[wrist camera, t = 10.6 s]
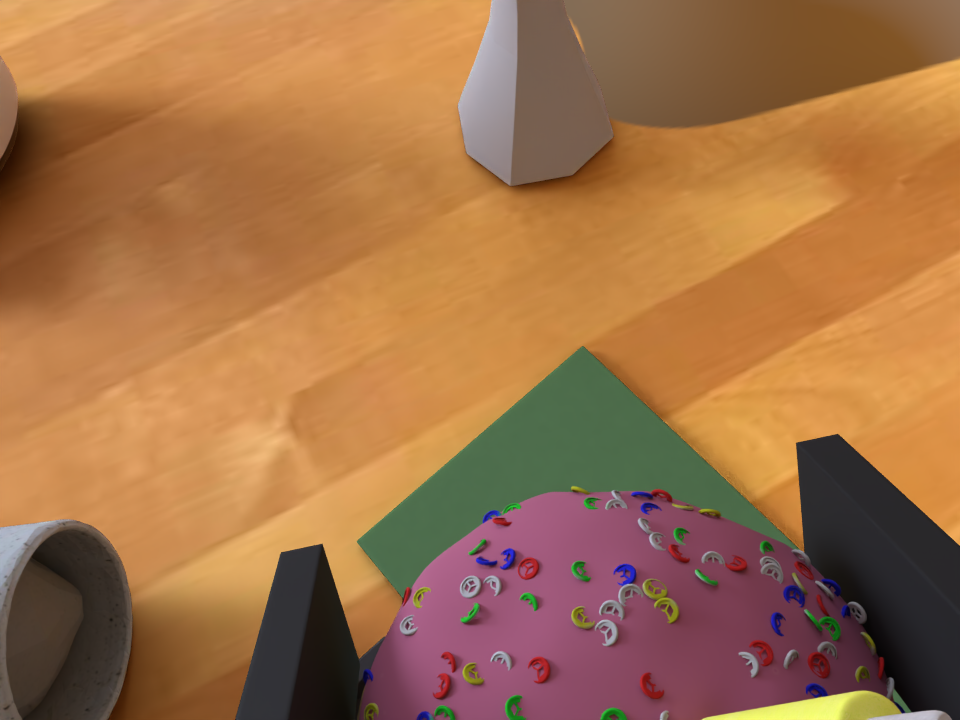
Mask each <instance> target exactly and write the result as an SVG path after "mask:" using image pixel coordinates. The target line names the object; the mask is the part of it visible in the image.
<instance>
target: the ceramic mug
mask: <svg viewBox="0 0 960 720" xmlns="http://www.w3.org/2000/svg"><path fill="white" fill-rule="evenodd" d="M132 619H133V617H132V601H131V593H130V590H129V586H128V581H127V577H126V572H125V569H124V566H123V564H122V561H121V559H120V557H119V555H118V553H117V552H116V550H115V549H114V547H113V546H112V544H111V543H110V541H109V540H108V539H107V538H106V537H105V536H104V535H103V534H102V533H101V532H100V531H98V530H97V529H96V528H94V527H92V526H91V525H88V524H84V523H82V522H80V521H75V520H65V519H63V520H55V521H48V522H41V523H34V524H25V525H17V526H8V527H1V528H0V720H108V719H109V717H110V715H111V712H112V710H113V708H114V706H115V704H116V702H117V700H118V698H119V695H120V692H121V689H122V686H123V682H124V679H125V675H126V672H127V666H128V661H129V655H130V650H131V639H132Z"/></svg>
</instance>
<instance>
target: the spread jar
mask: <svg viewBox="0 0 960 720" xmlns="http://www.w3.org/2000/svg"><path fill="white" fill-rule="evenodd" d="M18 122H19V102H18V94H17V87H16V84H15V81H14V79H13V76H12V74H11V72H10V70H9V68H8V67H7V65H6V64H5V62H4V61H3V59H2V58H1V56H0V171H1V169H2V168H3V166H4V165H5V163H6V161H7V159H8V157H9V155H10V153H11V151H12V148H13V146H14V143H15V139H16V135H17V130H18Z"/></svg>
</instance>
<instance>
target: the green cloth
mask: <svg viewBox="0 0 960 720" xmlns="http://www.w3.org/2000/svg"><path fill="white" fill-rule="evenodd" d="M572 486H576V487H580V488H582V489H584V490H586V491H588V492H612V491H613V490H616V491H618V492H619V491H649V492H652V491H653V490H654V489H661V490H664V491H666V492H668V493H669V494H670V495H671V496H672V498H673V499H676V500H679V501H682V502H685V503H688V504H691V505H693V506H696V507H699V508H701V509H713V510H717V511H719V512H720V513H721V517H724V518H726V519H728V520H731V521H733V522H735V523H738V524H740V525H743V526H745V527H747V528H749V529H752V530H754V531H756V532H759V533H761V534H763V535H765V536H768V537H770V538H772V539H775V540H777V541H779V542H782V543H784V544H786V545H787V546H789V547H790V548H792V549H793V550H794V549H797V550H800V549H799V548H798V547H797V546H796V545H794V544H793V543H792V542H791V541H790V540H789V539H788V538H787V537H786V536H785V535H784V534H783V533H782V532H781V531H780V530H778V529H777V528H776V527H775V526H774V525H773V524H772V523H771V522H770V521H769V520H768V519H767V518H766V517H765V516H764V515H763V514H761V513H760V512H759V511H758V510H757V509H756V508H755V507H754V506H753V505H752V504H751V503H750V502H749V501H748V500H747V499H745V498H744V497H743V496H742V495H741V494H740V493H739V492H738V491H737V490H736V489H735V488H734V487H733V486H732V485H731V484H730V483H728V482H727V481H726V480H725V479H724V478H723V477H722V476H721V475H720V474H719V473H718V472H717V471H716V470H715V469H714V468H712V467H711V466H710V465H709V464H708V463H707V462H706V461H705V460H704V459H703V458H702V457H701V456H700V455H699V454H698V453H696V452H695V451H694V450H693V449H692V448H691V447H690V446H689V445H688V444H687V443H686V442H685V441H684V440H683V439H682V438H681V437H679V436H678V435H677V434H676V433H675V432H674V431H673V430H672V429H671V428H670V427H669V426H668V425H667V424H666V423H665V422H663V421H662V420H661V419H660V418H659V417H658V416H657V415H656V414H655V413H654V412H653V411H652V410H651V409H650V408H649V407H648V406H646V405H645V404H644V403H643V402H642V401H641V400H640V399H639V398H638V397H637V396H636V395H635V394H634V393H633V392H632V391H630V390H629V389H628V388H627V387H626V386H625V385H624V384H623V383H622V382H621V381H620V380H619V379H618V378H617V377H616V376H615V375H613V374H612V373H611V372H610V371H609V370H608V369H607V368H606V367H605V366H604V365H603V364H602V363H601V362H600V361H599V360H597V359H596V358H595V357H594V356H593V355H592V354H591V353H590V352H589V351H588V350H587V349H586V348H585V347H584V346H582V347H581V348H580V349H578V350H577V351H576V352H575V353H574V354H573V355H571V356H570V357H569V358H568V359H567V360H566V361H564V362H563V363H562V364H561V365H560V366H559V367H558V368H556V369H555V370H554V371H553V372H552V373H551V374H549V375H548V376H547V377H546V378H545V379H544V380H543V381H541V382H540V383H539V384H538V385H537V386H536V387H534V388H533V389H532V390H531V391H530V392H529V393H527V394H526V395H525V396H524V397H523V398H522V399H521V400H519V401H518V402H517V403H516V404H515V405H514V406H512V407H511V408H510V409H509V410H508V411H507V412H506V413H504V414H503V415H502V416H501V417H500V418H499V419H497V420H496V421H495V422H494V423H493V424H492V425H490V426H489V427H488V428H487V429H486V430H485V431H484V432H482V433H481V434H480V435H479V436H478V437H477V438H475V439H474V440H473V441H472V442H471V443H470V444H469V445H467V446H466V447H465V448H464V449H463V450H462V451H460V452H459V453H458V454H457V455H456V456H455V457H453V458H452V459H451V460H450V461H449V462H448V463H447V464H445V465H444V466H443V467H442V468H441V469H440V470H438V471H437V472H436V473H435V474H434V475H433V476H431V477H430V478H429V479H428V480H427V481H426V482H425V483H423V484H422V485H421V486H420V487H419V488H418V489H416V490H415V491H414V492H413V493H412V494H411V495H410V496H408V497H407V498H406V499H405V500H404V501H403V502H401V503H400V504H399V505H398V506H397V507H396V508H394V509H393V510H392V511H391V512H390V513H389V514H388V515H386V516H385V517H384V518H383V519H382V520H381V521H379V522H378V523H377V524H376V525H375V526H374V527H373V528H371V529H370V530H369V531H368V532H367V533H366V534H364V535H363V536H362V537H361V538H360V539H359V540H357V543H358V544H359V545H360V546H361V548H362V549H363V550H364V551H365V552H366V554H367V555H368V556H369V557H370V559H371V560H372V561H373V562H374V564H375V565H376V566H377V567H378V568H379V570H380V571H381V572H382V573H383V575H384V576H385V577H386V578H387V579H388V581H389V582H390V583H391V584H392V586H393V587H394V588H395V589H396V591H397V592H398V593H399V594H400V595H401V597H402V598H403V597H404V593H405V590H406V588H407V587H410V590H411V588H412V586H413V585H414V583H415V582H416V580H417V579H418V577H419V576H420V575H421V573H422V572H423V571H424V569H425V568H426V567H427V566H428V565H429V564H430V563H431V562H432V561H433V560H435V559H436V558H437V557H438V556H439V555H441V554H442V553H443V552H444V551H446V550H447V549H448V548H450V547H451V546H452V545H454V544H455V543H457V542H458V541H460V540H461V539H462V538H464V537H465V536H467V535H468V534H469V533H471V532H472V531H473V530H475V529H476V528H477V527H479V526H480V525H481V524H483V518H484V516H485V515H486V514H487V513H488V512H489V511H492V510H497V511H499V512H502V511H503V510H504V509H505V508H506V507H507V506H508V505H510V504H512V503H520V502H523V501H525V500H527V499H530V498H532V497H535V496H538V495H541V494H544V493H549V492H573V491H572V490H571V487H572ZM661 495H663V494H661ZM664 496H665V495H664ZM494 516H495V515H492V516H490V517H491V518H492V517H494ZM489 519H490V518H488V520H489ZM892 695H893V699H894V701H895V702H897V703H898V704H899V705H900V706H901V707H902V708H903V709H904V711H905V712H906V713H912V712H911V711H910V709H909V708H908V707H907V705H906V704H905V703H904V701H903V700H902V699H901V697H900V696H899V695H898V693H897V692H896V691H895V689H894V691H893V694H892Z"/></svg>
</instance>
